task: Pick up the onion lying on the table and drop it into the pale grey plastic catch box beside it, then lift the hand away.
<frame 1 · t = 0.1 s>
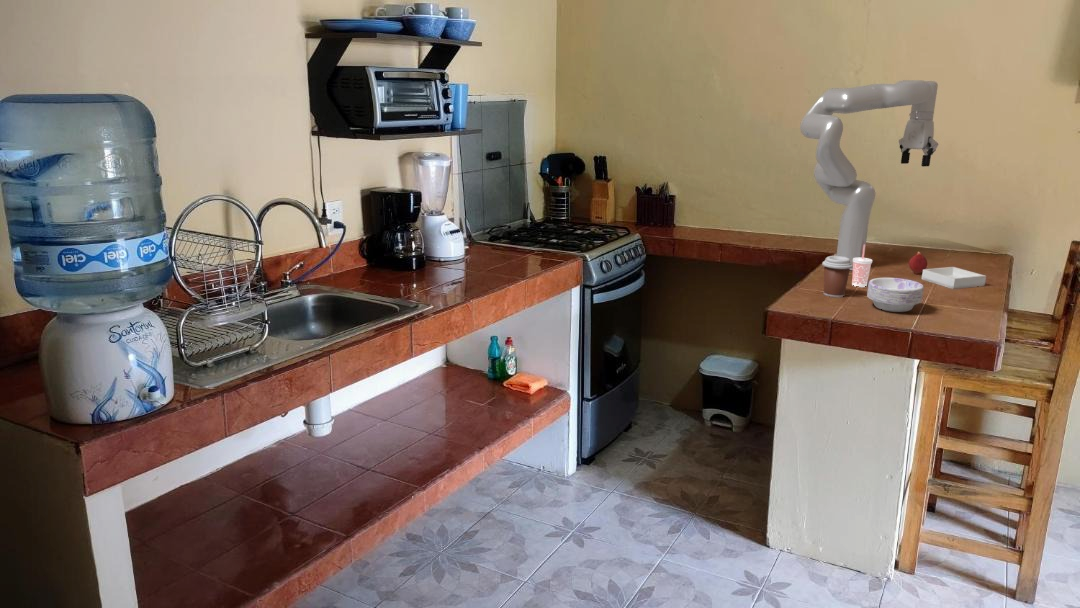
hand: (914, 164, 282), 37 cm above the table, tool pointing down, fingers open, 9 cm apart
beverage cup: (859, 286, 260), on the table
coffee cup: (833, 295, 248), on the table
onion: (916, 274, 276), on the table
paper bowls: (892, 308, 234), on the table
catch box: (952, 282, 264), on the table
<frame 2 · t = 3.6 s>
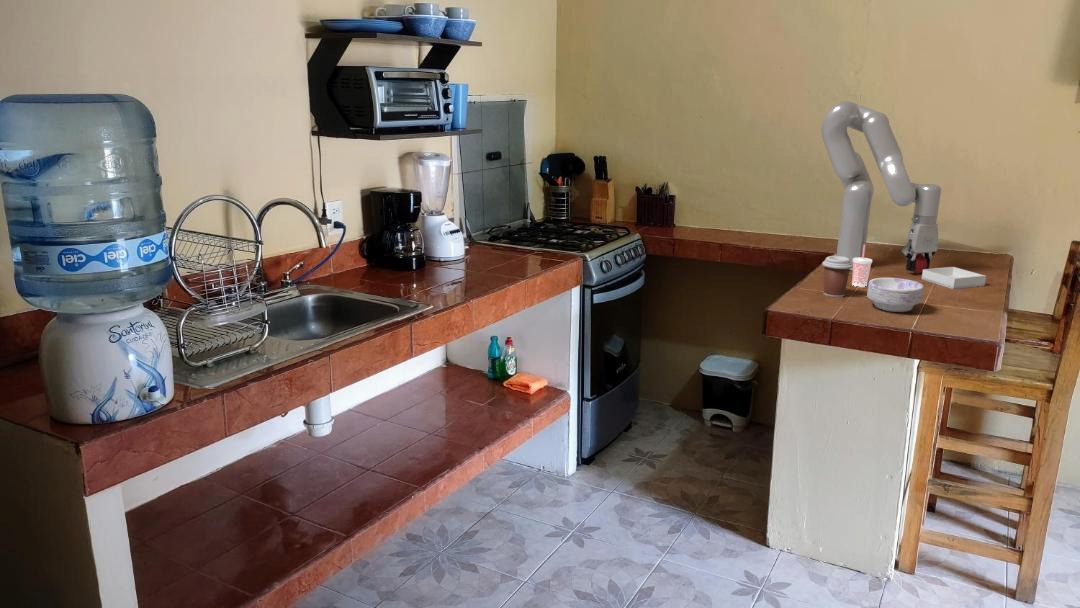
hand: (917, 269, 275), 2 cm above the table, tool pointing down, fingers closed on onion, 5 cm apart
onion: (916, 274, 276), on the table, touching gripper
everything else where it was.
when the fingers open (5 cm above the table, at t = 9.4 s): onion drops 2 cm, point 1 cm above the table.
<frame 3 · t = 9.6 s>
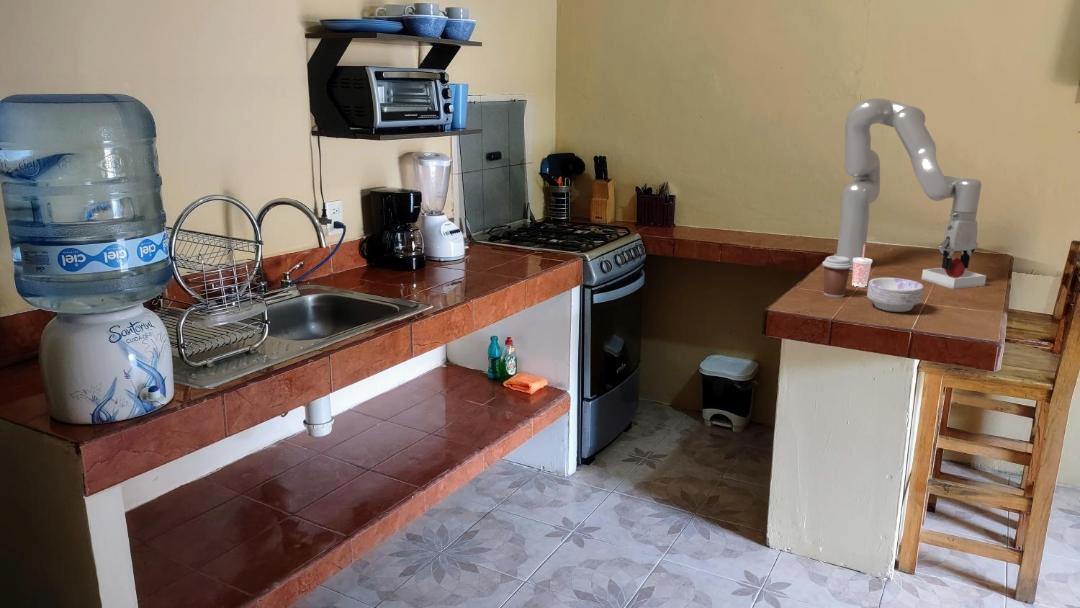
hand: (954, 267, 263), 5 cm above the table, tool pointing down, fingers open, 7 cm apart
onion: (952, 280, 264), point 1 cm above the table, touching gripper
everything else where it was.
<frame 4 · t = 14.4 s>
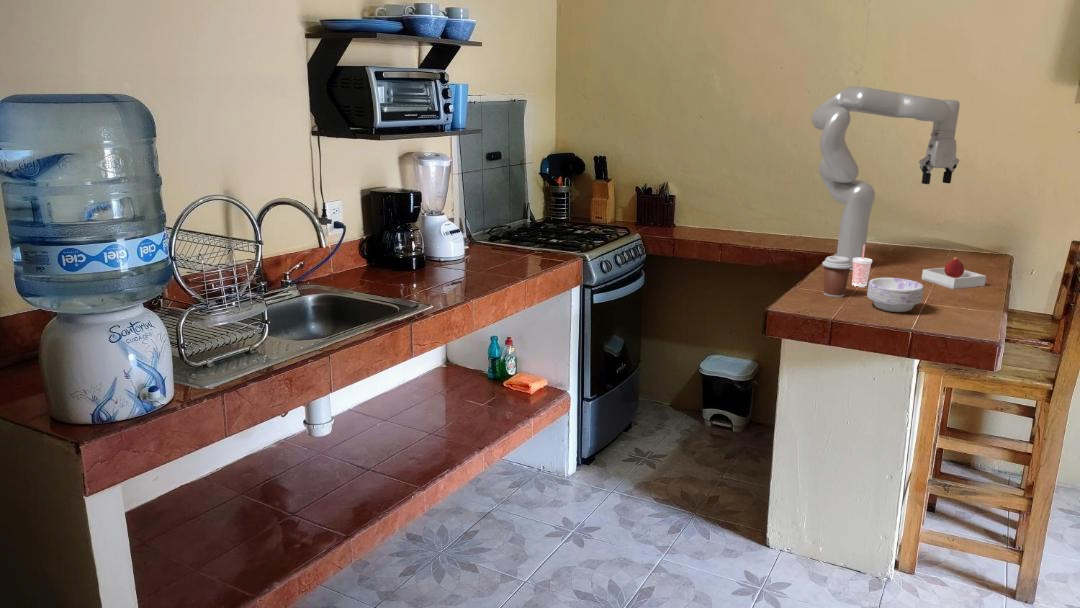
hand: (935, 183, 282), 30 cm above the table, tool pointing down, fingers open, 9 cm apart
onion: (952, 280, 264), point 1 cm above the table, touching catch box
everything else where it was.
at the end: onion inside the target area on the catch box (0.2 cm from its centre), point 0.6 cm above the catch box's base; the gripper is holding nothing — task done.
